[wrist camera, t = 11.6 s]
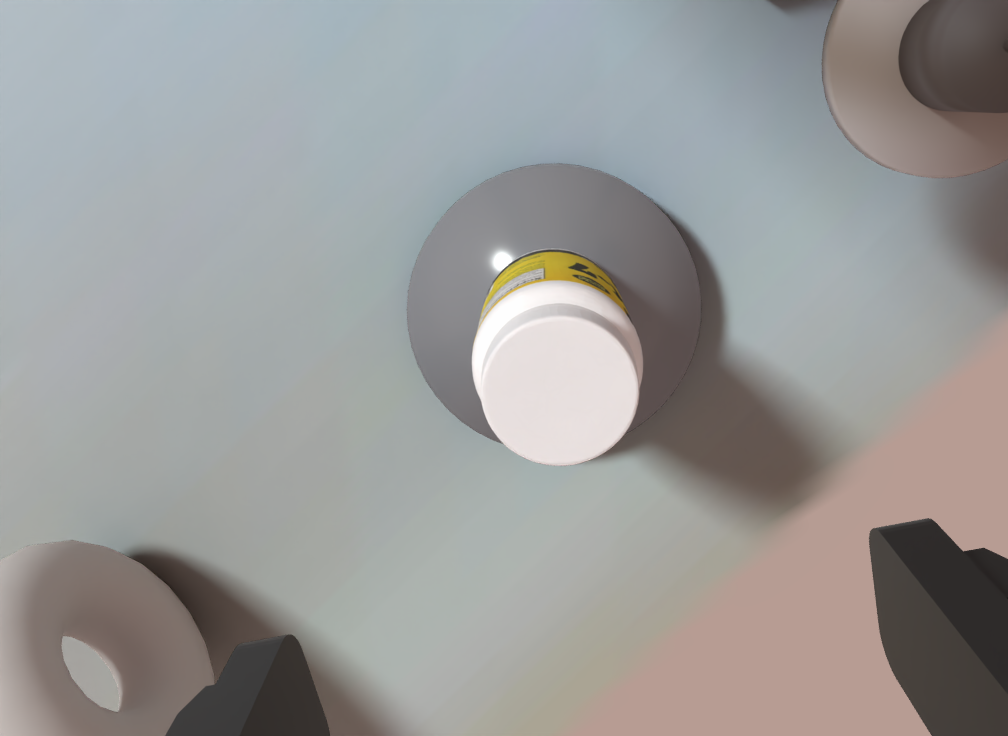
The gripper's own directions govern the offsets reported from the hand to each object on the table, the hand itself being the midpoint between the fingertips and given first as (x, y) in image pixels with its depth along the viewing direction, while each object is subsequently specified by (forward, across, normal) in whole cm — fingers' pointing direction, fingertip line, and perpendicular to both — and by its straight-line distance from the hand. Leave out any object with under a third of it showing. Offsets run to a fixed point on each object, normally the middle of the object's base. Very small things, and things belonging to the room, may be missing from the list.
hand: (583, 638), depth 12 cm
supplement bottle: (+19, 0, 0) cm, 19 cm away
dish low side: (+20, 0, 0) cm, 20 cm away
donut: (+20, +18, +8) cm, 28 cm away
